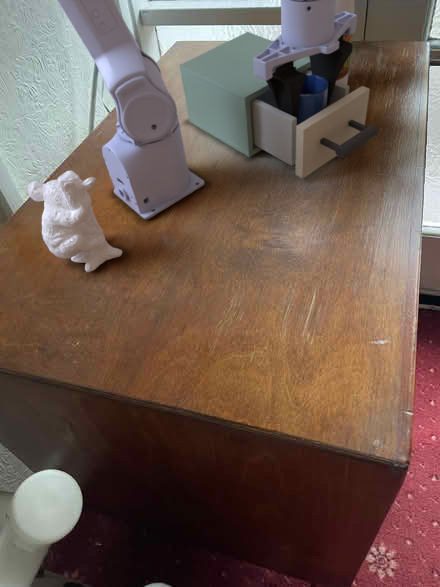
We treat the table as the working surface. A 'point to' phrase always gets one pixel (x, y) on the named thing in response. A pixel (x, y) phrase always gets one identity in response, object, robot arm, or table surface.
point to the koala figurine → (72, 221)
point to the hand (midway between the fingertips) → (304, 112)
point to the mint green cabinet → (228, 89)
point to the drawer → (312, 129)
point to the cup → (312, 97)
